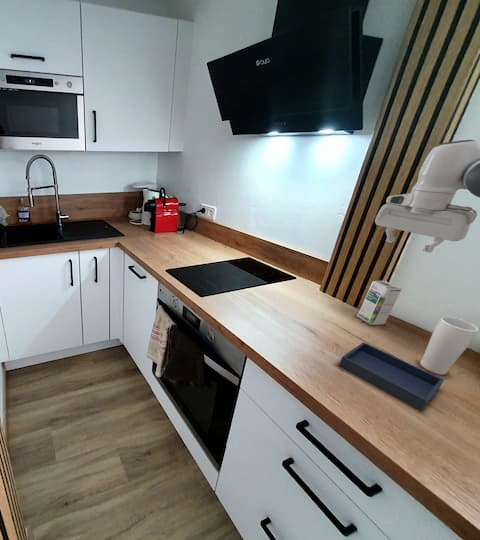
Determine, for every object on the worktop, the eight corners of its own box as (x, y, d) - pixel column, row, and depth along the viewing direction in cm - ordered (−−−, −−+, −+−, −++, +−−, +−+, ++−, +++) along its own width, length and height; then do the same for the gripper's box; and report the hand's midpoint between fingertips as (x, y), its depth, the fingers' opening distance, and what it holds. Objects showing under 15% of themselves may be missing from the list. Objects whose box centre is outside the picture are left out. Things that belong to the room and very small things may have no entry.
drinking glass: (416, 357, 84) (440, 313, 78) (449, 369, 79) (477, 324, 73) (415, 368, 79) (441, 322, 73) (450, 381, 75) (480, 334, 69)
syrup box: (356, 316, 104) (371, 280, 98) (370, 315, 104) (386, 280, 99) (370, 325, 99) (387, 288, 93) (385, 324, 99) (403, 287, 94)
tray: (438, 388, 73) (444, 379, 71) (421, 410, 66) (427, 401, 65) (359, 350, 86) (363, 341, 85) (338, 365, 80) (342, 356, 78)
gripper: (485, 207, 75) (459, 256, 80) (392, 195, 92) (376, 236, 97) (475, 209, 72) (448, 259, 78) (381, 196, 90) (365, 238, 95)
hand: (407, 246), depth 88 cm, fingers open, 8 cm apart
